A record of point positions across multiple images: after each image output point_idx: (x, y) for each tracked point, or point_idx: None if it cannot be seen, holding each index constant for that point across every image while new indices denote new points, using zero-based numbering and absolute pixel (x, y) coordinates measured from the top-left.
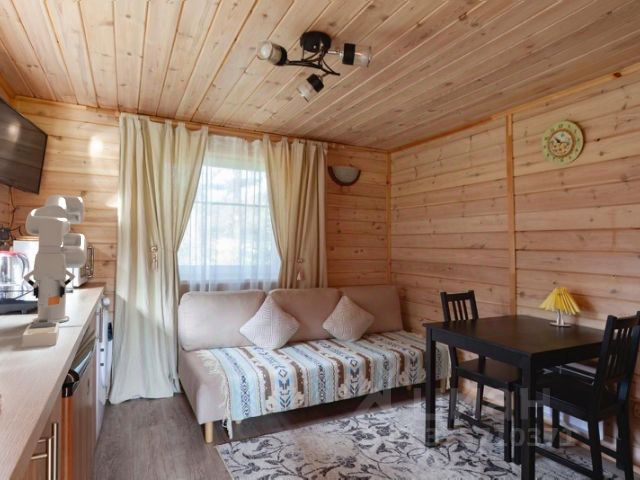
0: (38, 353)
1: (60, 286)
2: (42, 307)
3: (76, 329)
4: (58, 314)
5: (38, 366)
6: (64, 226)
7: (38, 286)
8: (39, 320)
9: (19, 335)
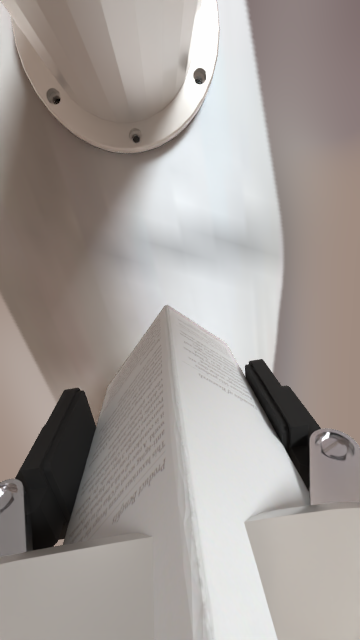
0: None
1: (281, 451)
2: (53, 60)
3: (266, 320)
4: (169, 88)
5: None
6: None
7: (67, 536)
8: None
9: (87, 376)
